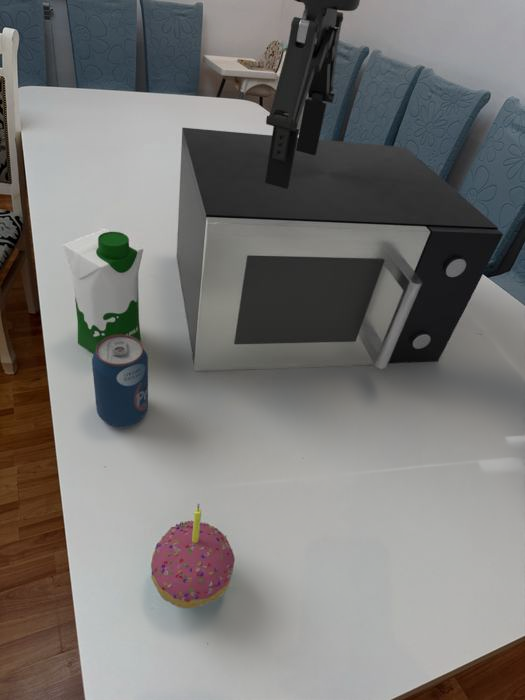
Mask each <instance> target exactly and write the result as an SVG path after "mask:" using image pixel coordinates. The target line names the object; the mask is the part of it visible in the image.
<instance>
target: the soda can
mask: <svg viewBox="0 0 525 700" xmlns="http://www.w3.org/2000/svg"><path fill="white" fill-rule="evenodd" d="M91 364H92V365H91V366H92V367H91V368H92V376H93V387H94V397H95V409H96V413H97V415H98V417H99V418H100V419H101V420H102V421H103V422H104V423H106V424H107V425H109V426H111V427H114V428H121V429H123V428H129V427H132V426H134V425H136V424H138V423H139V422H140V421H141V420H142V419H143V418H144V417H145V415H146V414H147V412H148V409H149V357H148V354H147V351H146V350H145V349H144V345H143V343H142V341H141V342H140V341H139V340H138V339H136V338H134V337H132V336H128V335H113V336H109V337H106V338H105V339H103V340H102V341H100V342H99V344H98V345H97V347H96V351H95V353H94V354H93V355H92V358H91Z"/></svg>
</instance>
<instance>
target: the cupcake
mask: <svg viewBox="0 0 525 700" xmlns="http://www.w3.org/2000/svg"><path fill="white" fill-rule="evenodd" d="M200 507H201V506H200V503H197V507H196V508H195V510H194V512H193V513H194V514H193V520H188V521H179V523H176V525H175V526H171V527H170V529H169V530H167V531H166V532H165V534H164V535H162V537H161V539H159V542H157V543H156V546H155V547H154V548H155V549H154V551H153V553H152V557H151V563H150V568H151V572H150V573H151V577H150V578H151V580H152V583H153V585H154V586H155V588H156V590H157V592H158V594H159V596H160V597H161V598H162V599H163V600H164V601H166V602H168V603H170V604H172V605H174V606H176V607H177V608H179V609H193V608H197V607H201V606H204V605H205V604H208V603H210V602H214V601H216V600H218V599H219V598H221V596H222V595H223V594H224V593H225V592H226V591H227V589H228V588H229V585H230V583H231V580H232V575H233V573H234V567H235V563H236V562H235V561H236V558H235V554H234V551H233V549H232V547H231V544H230V542H229V540H228V538H227V535H225V534H224V533H222V532H221V531H220V530H219V528H217V527H215V526H213V525H210V524H209V523H208V522H201V521H202V520H201V519H202V509H200Z"/></svg>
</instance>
